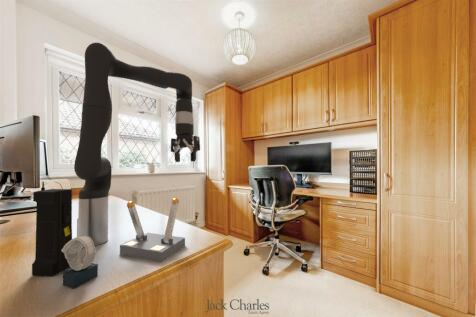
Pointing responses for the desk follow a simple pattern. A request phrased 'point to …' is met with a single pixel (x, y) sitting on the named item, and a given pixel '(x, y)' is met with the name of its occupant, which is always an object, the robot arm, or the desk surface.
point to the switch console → (152, 247)
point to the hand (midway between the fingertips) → (185, 161)
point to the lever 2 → (171, 220)
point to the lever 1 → (135, 219)
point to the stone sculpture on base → (79, 270)
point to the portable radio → (52, 230)
